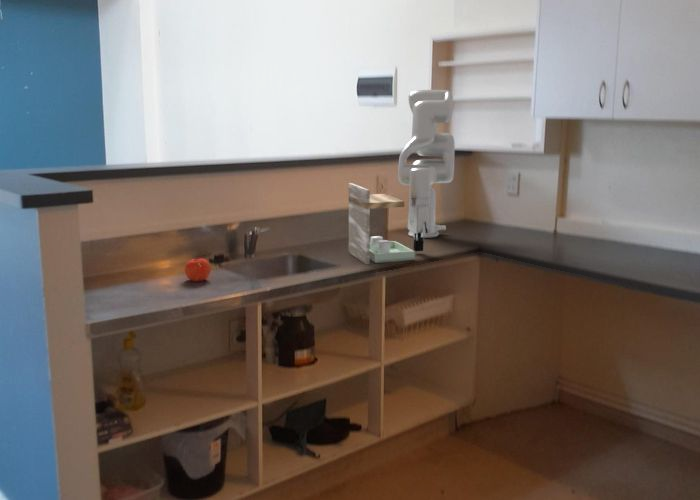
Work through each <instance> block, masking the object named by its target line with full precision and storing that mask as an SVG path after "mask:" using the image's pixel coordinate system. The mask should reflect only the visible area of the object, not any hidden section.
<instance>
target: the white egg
mask: <svg viewBox="0 0 700 500" xmlns="http://www.w3.org/2000/svg"><path fill="white" fill-rule="evenodd" d="M390 241H391V240H387V239H383V240H380V241H378V253H390Z"/></svg>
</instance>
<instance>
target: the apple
mask: <svg viewBox="0 0 700 500" xmlns="http://www.w3.org/2000/svg"><path fill="white" fill-rule="evenodd" d="M211 270H212V268H211V264H210V261H208V260H207V259H206V258H198V255H196V256H195V258H193V259H189V260H188V261H187V262H186V263H185V266H184V273H185V276H186V277H187V278H188V279H189V280H190V281H192V282H203V281H205V280H206V279H207V278H208V277H209V276H210V275H211Z"/></svg>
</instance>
